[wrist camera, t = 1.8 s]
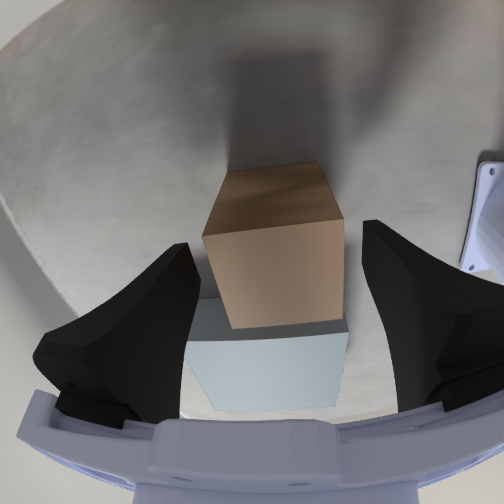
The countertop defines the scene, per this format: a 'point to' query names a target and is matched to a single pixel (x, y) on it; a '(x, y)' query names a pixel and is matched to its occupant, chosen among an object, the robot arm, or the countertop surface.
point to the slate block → (265, 362)
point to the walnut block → (277, 246)
